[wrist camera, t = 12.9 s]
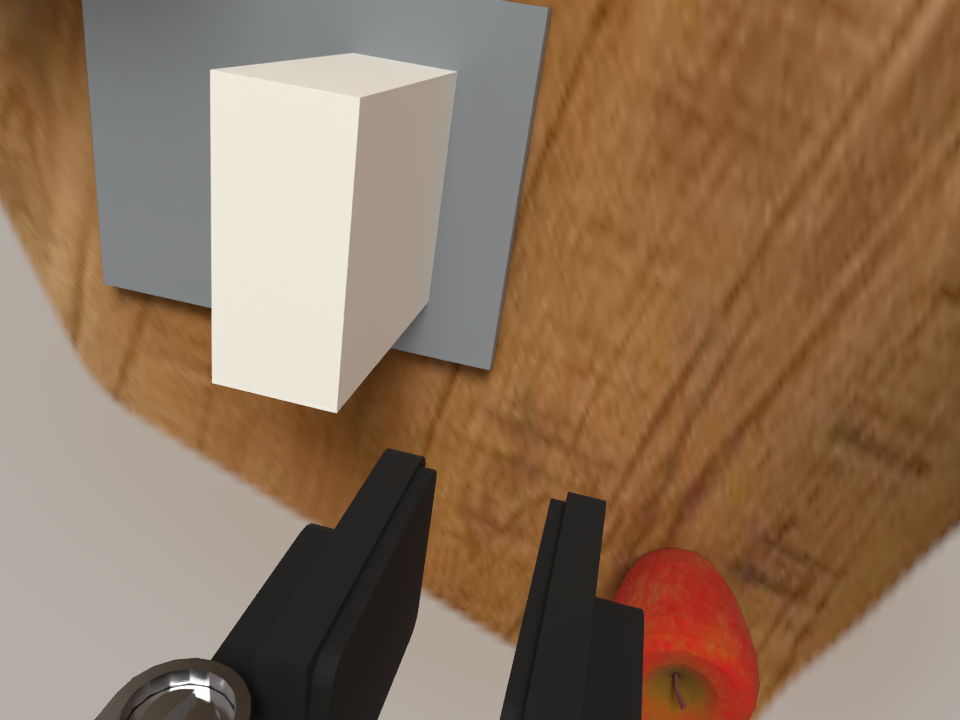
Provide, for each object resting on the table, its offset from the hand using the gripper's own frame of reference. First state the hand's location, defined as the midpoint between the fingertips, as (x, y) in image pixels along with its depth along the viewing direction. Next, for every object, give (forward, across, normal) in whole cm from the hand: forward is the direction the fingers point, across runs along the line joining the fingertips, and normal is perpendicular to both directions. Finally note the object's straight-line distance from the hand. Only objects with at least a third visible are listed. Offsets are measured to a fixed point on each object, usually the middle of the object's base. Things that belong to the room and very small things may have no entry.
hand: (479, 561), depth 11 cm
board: (+21, +12, 0) cm, 24 cm away
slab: (+20, +8, 0) cm, 22 cm away
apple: (+21, -7, +16) cm, 28 cm away
